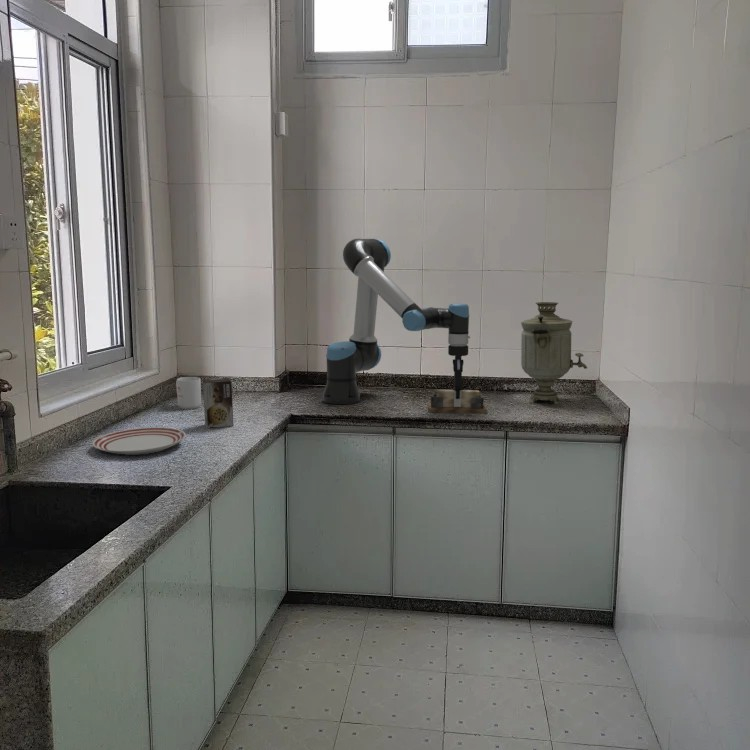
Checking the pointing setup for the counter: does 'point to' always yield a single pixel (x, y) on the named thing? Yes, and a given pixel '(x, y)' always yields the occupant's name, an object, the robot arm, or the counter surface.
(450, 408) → the slat base
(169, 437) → the dinner plate
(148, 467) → the counter surface
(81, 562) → the counter surface
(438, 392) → the slat
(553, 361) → the samovar
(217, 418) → the coffee box
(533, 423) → the counter surface
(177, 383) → the mug
